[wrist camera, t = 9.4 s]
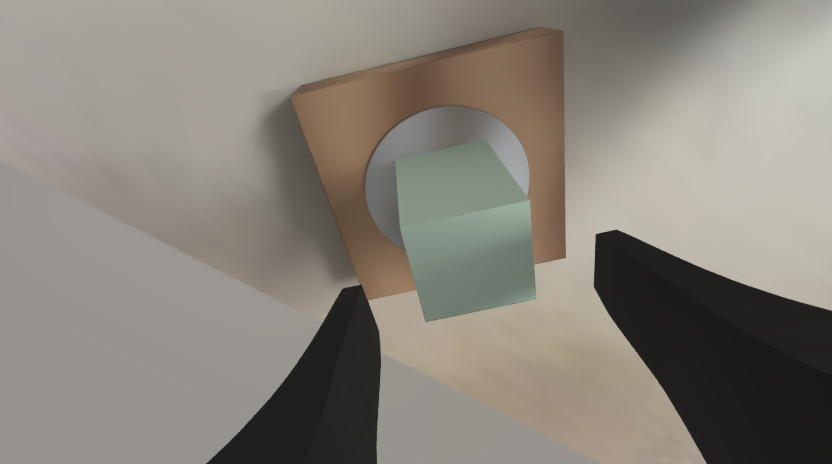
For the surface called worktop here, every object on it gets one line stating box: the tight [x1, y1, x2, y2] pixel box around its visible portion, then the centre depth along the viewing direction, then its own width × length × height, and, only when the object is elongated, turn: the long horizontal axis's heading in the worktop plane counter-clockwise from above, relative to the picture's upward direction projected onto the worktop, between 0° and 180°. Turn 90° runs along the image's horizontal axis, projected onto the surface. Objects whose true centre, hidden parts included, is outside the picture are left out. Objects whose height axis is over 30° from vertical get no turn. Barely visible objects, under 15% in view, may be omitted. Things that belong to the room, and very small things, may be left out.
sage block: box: [395, 139, 536, 322], centre depth 15 cm, size 4×4×6 cm
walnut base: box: [290, 27, 566, 300], centre depth 19 cm, size 11×11×3 cm
